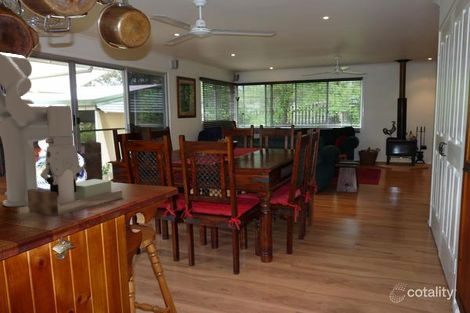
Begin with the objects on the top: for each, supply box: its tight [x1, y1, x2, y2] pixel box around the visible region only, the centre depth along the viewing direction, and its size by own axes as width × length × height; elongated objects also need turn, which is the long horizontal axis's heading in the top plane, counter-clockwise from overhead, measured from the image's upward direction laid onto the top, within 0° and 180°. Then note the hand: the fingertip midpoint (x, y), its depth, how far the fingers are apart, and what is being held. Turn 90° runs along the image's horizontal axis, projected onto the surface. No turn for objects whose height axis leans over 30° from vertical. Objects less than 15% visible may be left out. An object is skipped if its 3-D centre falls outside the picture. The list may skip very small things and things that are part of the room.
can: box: [53, 168, 74, 205], centre depth 126 cm, size 6×6×12 cm
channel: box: [27, 188, 123, 218], centre depth 132 cm, size 12×30×8 cm, turn 152°
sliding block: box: [74, 179, 112, 201], centre depth 137 cm, size 9×12×6 cm
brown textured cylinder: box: [83, 140, 104, 181], centre depth 167 cm, size 8×7×20 cm
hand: (63, 193), depth 127 cm, fingers closed on can, 6 cm apart
